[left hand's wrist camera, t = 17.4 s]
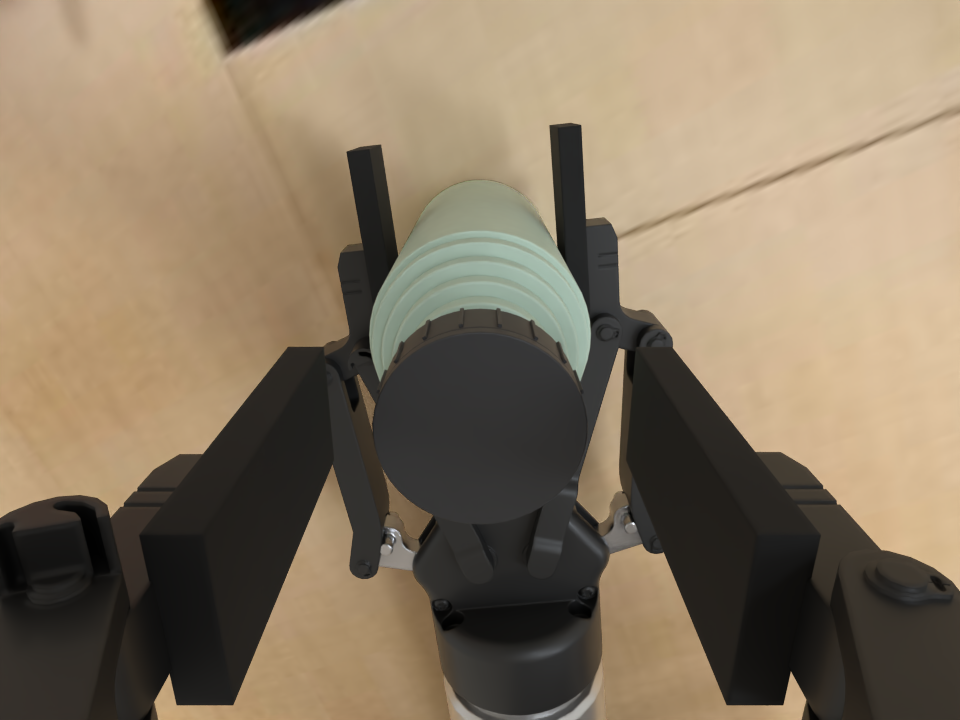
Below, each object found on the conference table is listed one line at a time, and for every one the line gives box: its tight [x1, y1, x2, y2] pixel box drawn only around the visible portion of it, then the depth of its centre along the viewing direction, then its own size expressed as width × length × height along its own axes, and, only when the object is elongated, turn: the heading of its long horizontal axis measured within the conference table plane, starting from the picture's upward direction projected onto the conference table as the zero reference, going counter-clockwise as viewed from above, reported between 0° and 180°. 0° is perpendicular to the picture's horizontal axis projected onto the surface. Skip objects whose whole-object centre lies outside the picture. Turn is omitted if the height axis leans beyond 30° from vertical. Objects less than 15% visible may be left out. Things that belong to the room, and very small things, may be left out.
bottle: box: [369, 180, 591, 381], centre depth 22 cm, size 6×6×18 cm
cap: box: [372, 308, 588, 524], centre depth 14 cm, size 4×4×2 cm
